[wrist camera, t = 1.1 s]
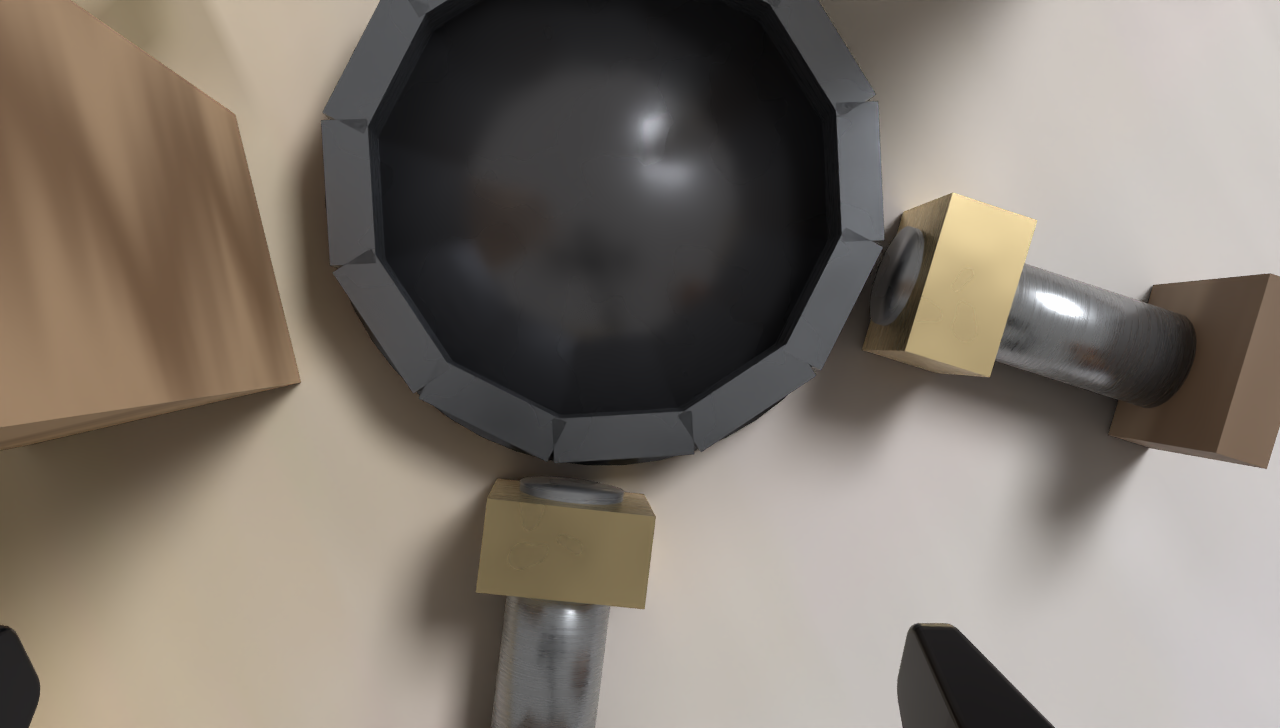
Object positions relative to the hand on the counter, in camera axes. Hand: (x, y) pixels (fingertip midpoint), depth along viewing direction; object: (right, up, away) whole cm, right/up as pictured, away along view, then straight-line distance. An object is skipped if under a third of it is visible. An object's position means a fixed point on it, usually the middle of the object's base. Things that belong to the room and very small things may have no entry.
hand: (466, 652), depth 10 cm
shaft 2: (+11, +4, +14) cm, 19 cm away
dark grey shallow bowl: (+1, +7, +13) cm, 15 cm away
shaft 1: (0, -4, +13) cm, 14 cm away
